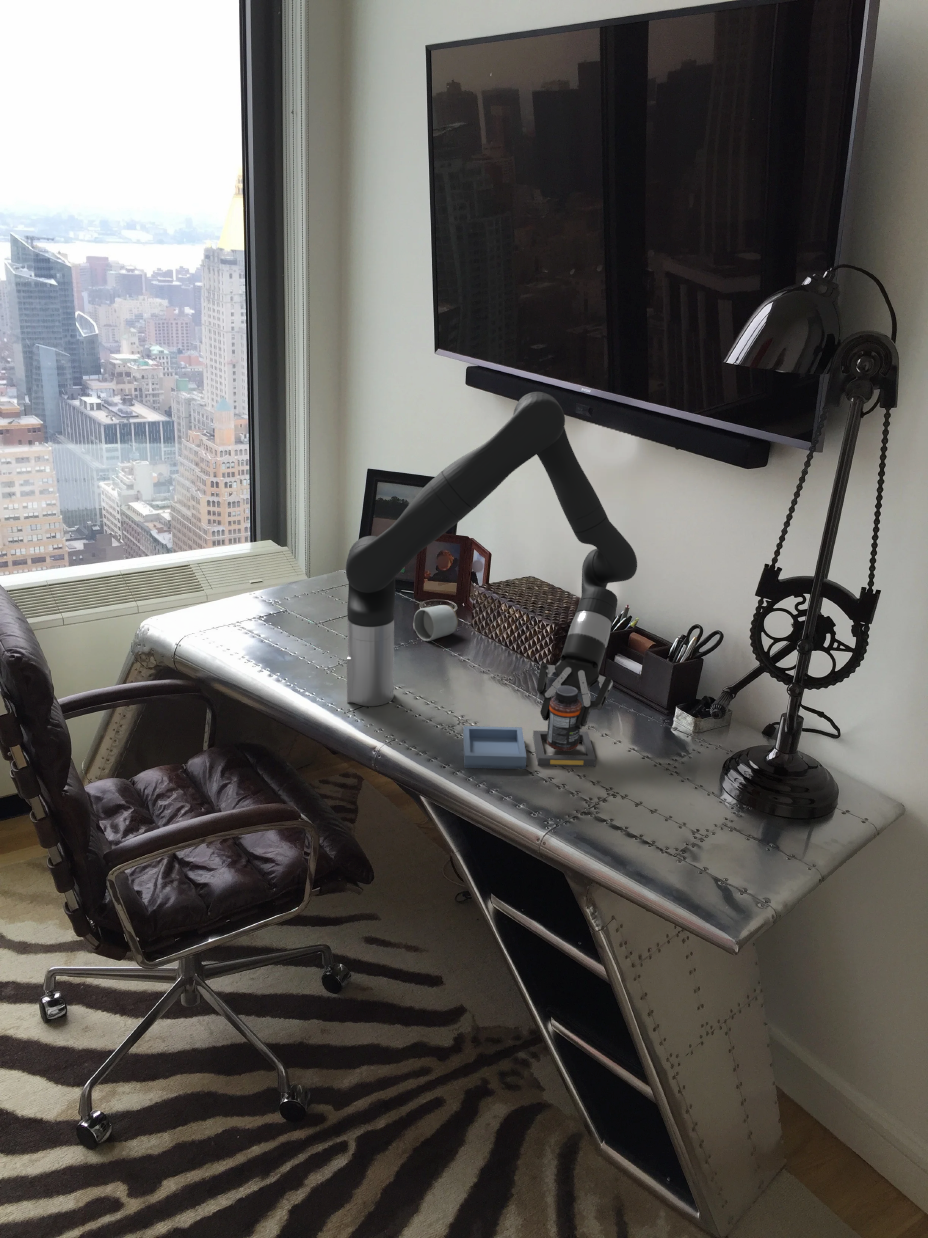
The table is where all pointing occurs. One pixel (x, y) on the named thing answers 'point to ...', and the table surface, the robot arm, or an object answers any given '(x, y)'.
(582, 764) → the frame
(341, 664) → the table surface
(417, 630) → the ceramic mug
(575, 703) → the supplement bottle
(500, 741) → the tray
